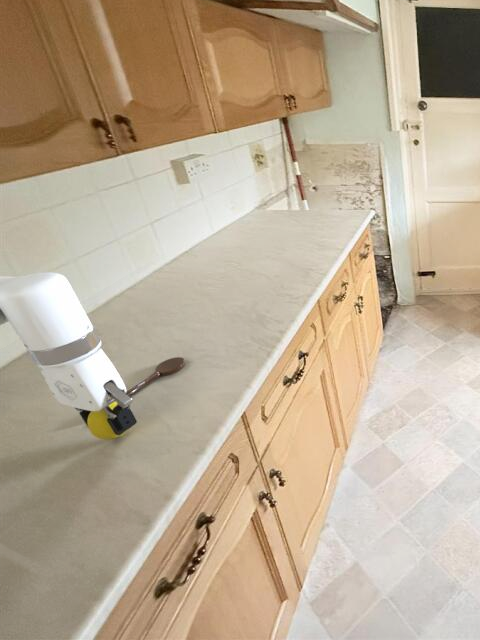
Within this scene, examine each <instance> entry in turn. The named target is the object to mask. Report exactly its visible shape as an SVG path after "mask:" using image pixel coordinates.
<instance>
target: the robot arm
mask: <svg viewBox="0 0 480 640" xmlns="http://www.w3.org/2000/svg"><path fill="white" fill-rule="evenodd" d="M7 322H9V324H10V325H11V327H12V328H13V330H14V331H15V333H16V335H17V336H18V337H19V339H20V341H21V342H22V344H23V345H24V347H25V349H26V350H27V352H28V353H29V355H30V356H31V359H32V360H33V361H34V363H35V364H36V366H37V368H39V371H40V373H41V375H42V377H43V379H44V381H45V383H46V385H47V387H48V388H49V390H50V392H51V394H52V395H53V397H54V399H55V401H56V402H58V403H59V404H61V405H62V406H63V405H64V406H68V407H70V408H74V409H75V410H76V411H77V412H78V413H79V416H80V417H81V419H82V420H83V422H84V423H85V425H86V427H88V424H87V420H88V416H89V414H90V412H91V411H100V410H103V411H104V412H105V414H106V415H107V416H108V417H109V418H108V419H107V421H108V423H109V424H110V426H111V428H112V429H113V431H114V433H115V434H116V435H121V434H122V433H124V432H125V431H126V432H128V430H130V429H131V428H132V427H134V426H135V425H136V424H137V423H138V420H137V419H136V416H135V415H134V413H133V411H132V410H131V404H132V403H133V398H131V396H130V397H129V396H128V395H127V394H126V392H127V387H126V384H125V381H124V380H123V379H122V377H121V375H120V373H119V372H118V371H117V369H116V367H115V365H114V364H113V362H112V361H111V359H110V358H109V357H108V356H107V354H106V353H105V351H103V349H102V347H101V346H102V341H101V338H100V337H99V335H98V333H97V330H96V329H95V327H94V325H93V324H92V322H91V320H90V318H89V316H88V314H87V313H86V311H85V309H84V307H83V305H82V303H81V301H80V299H79V298H78V296H77V294H76V292H75V290H74V289H73V286H72V284H71V283H70V282H69V280H68V279H67V277H66V276H65V275H63V274H61V273H59V272H54V271H43V272H34V273H30V274H26V275H22V276H20V275H19V276H16V275H15V276H13V275H12V276H10V275H8V276H7V275H5V276H4V275H0V326H2V325H4V324H5V323H7ZM108 397H109V399H108ZM114 401H116V402H117V406H115V407H114V408H113V410H112V409H111V408H110V407H109V406H108V405H110V404H111V403H113V402H114ZM126 432H125V433H126ZM125 433H124V434H125Z"/></svg>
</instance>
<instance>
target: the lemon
mask: <svg viewBox="0 0 480 640" xmlns="http://www.w3.org/2000/svg"><path fill="white" fill-rule="evenodd" d="M108 406H109V407H110V408H111V409H112V410H113V408H114V407H115V406H117V402H116V401H114V402H113V403H111V404H110V405H108ZM108 418H109V417H108V416H107V415H106V414H105V412H104V411H103V410H100V411H91V412H90V414H89V416H88V420H87V424H88V426H87V428H88V430H89V432H90V433H91V434H92V436H94V437H95V438H98V439H100V440H105V441H106V440H107V441H108V440H114V439H117V438H121V437H122V436H123V435H125V434H126V433H127V431H125V432H124V433H122V434H121V435H116V434H115V433H114V431H113V429H112V428H111V426H110V424H109V423H108V421H107V419H108Z"/></svg>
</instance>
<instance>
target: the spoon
mask: <svg viewBox="0 0 480 640" xmlns="http://www.w3.org/2000/svg"><path fill="white" fill-rule="evenodd" d="M185 366H186V361H185V358H183V357H182V356H181V357H180V356H176V357H171V358H168V359H165V360H164V361H161V362H160V363H159V364H158V365H156V366H155V369H154V371H155V372H154V373H153V374H151V375H150V376H148V377H147V378H145V379H144V380H142V381H141V382H139V383H138V384H136V385H135V386H133V387H131V388H130V389H129V390H126V394H127V395H128V396H129V397H130V398H131V397H132V396H133V395H134V394H136V393H138V392H139V391H141V390H142V389H144V388H145V387H147V386H148V385H150V384H151V383H152V382H154V381H155V380H157V379H159V378H160V377H165V376H171V375H174V374H176V373H177V372H179V371H181V370H183V369H184V367H185Z"/></svg>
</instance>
